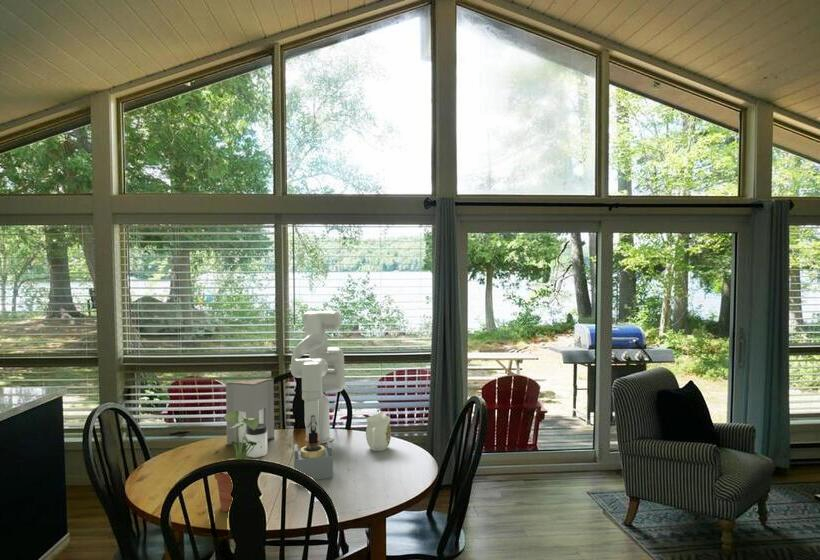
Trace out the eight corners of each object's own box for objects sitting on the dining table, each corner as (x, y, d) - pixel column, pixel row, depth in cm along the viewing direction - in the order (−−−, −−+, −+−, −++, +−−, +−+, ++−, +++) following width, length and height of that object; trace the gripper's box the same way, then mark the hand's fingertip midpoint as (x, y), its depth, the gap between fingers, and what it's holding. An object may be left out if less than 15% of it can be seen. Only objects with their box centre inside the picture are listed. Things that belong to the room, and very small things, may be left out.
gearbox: (294, 471, 199) (293, 443, 199) (330, 468, 202) (330, 440, 202) (294, 481, 189) (294, 451, 189) (332, 477, 193) (332, 448, 193)
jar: (271, 452, 222) (271, 424, 222) (258, 458, 214) (257, 430, 214) (256, 449, 226) (255, 422, 226) (242, 455, 218) (241, 427, 218)
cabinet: (273, 437, 242) (272, 378, 242) (277, 443, 234) (276, 382, 233) (226, 444, 234) (225, 382, 234) (228, 450, 225) (227, 386, 225)
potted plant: (263, 511, 165) (262, 402, 165) (213, 518, 161) (211, 406, 161) (263, 492, 180) (261, 392, 180) (216, 498, 176) (215, 396, 176)
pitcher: (360, 455, 216) (359, 423, 216) (371, 442, 234) (371, 412, 234) (385, 457, 214) (385, 424, 214) (395, 443, 232) (394, 412, 232)
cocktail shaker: (305, 451, 198) (305, 417, 198) (319, 450, 199) (318, 415, 199) (306, 456, 193) (305, 420, 193) (320, 454, 194) (319, 419, 194)
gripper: (301, 390, 203) (301, 433, 204) (302, 400, 187) (303, 447, 187) (320, 388, 205) (321, 431, 205) (323, 399, 188) (324, 445, 189)
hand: (312, 439), depth 196 cm, fingers open, 9 cm apart
